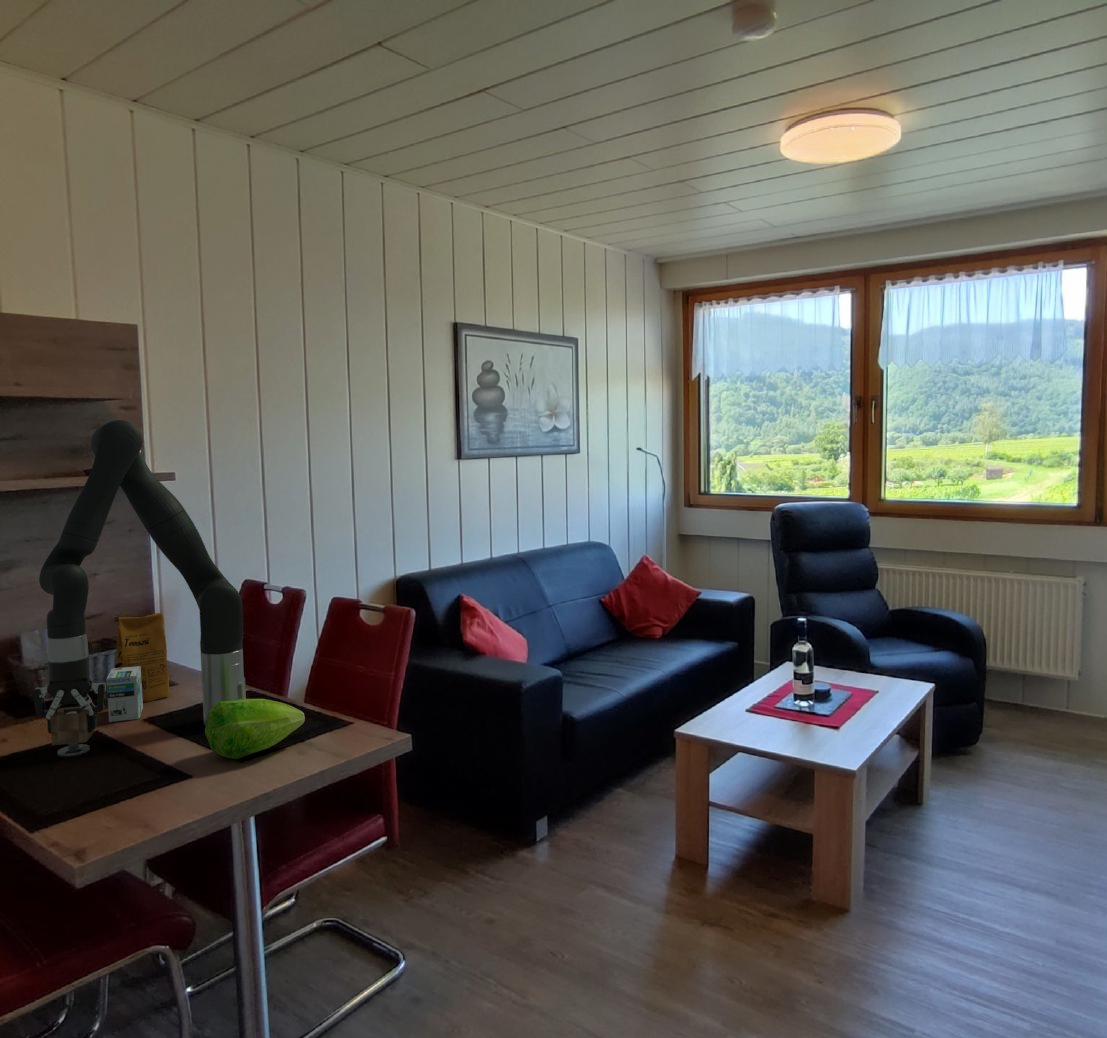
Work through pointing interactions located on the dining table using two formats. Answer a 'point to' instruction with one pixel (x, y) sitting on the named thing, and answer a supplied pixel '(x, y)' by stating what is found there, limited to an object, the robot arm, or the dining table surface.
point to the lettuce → (249, 725)
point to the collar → (69, 726)
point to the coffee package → (145, 653)
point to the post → (73, 747)
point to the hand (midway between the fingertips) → (72, 732)
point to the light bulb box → (124, 693)
